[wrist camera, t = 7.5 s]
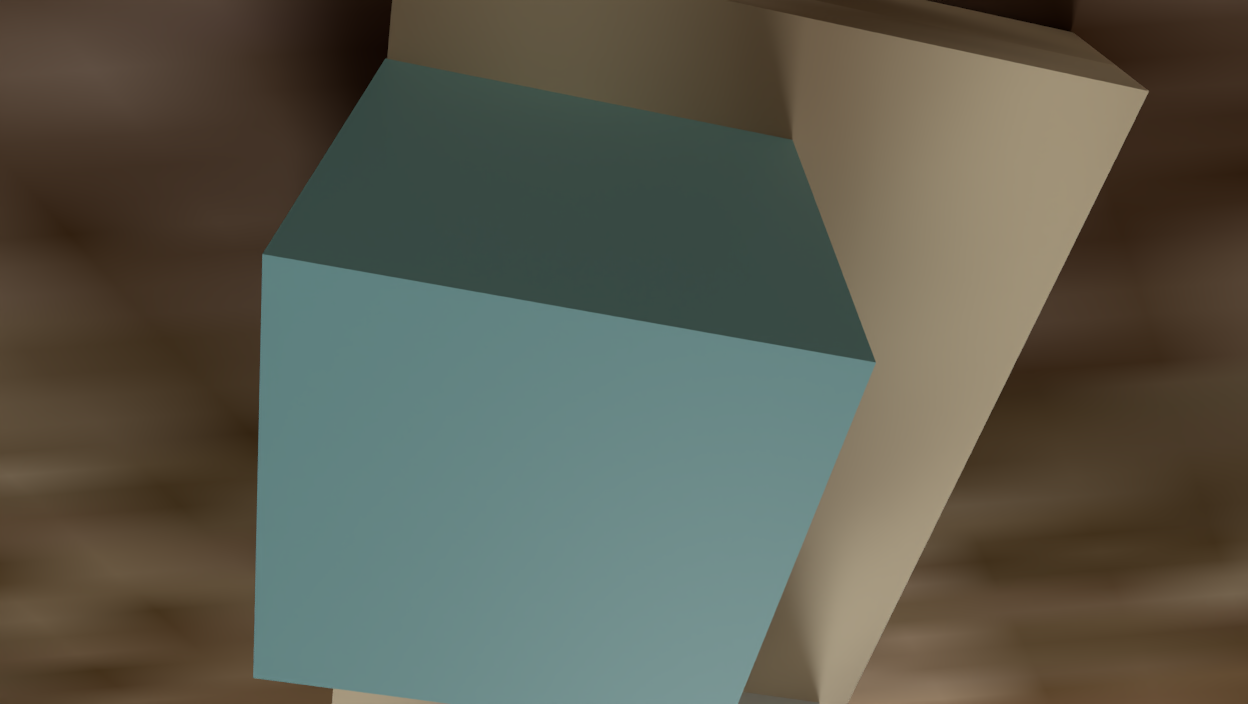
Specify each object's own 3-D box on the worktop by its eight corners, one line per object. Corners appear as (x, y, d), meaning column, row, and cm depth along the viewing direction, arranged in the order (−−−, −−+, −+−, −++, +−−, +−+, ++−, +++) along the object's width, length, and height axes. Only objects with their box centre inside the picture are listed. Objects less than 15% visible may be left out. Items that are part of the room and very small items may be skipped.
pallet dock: (352, 689, 22) (323, 795, 20) (432, -109, 14) (398, -70, 12) (761, 743, 23) (775, 849, 21) (1073, 32, 15) (1149, 91, 13)
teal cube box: (356, 397, 15) (253, 677, 11) (385, 57, 12) (263, 254, 8) (695, 452, 15) (723, 740, 11) (792, 139, 13) (877, 362, 9)
